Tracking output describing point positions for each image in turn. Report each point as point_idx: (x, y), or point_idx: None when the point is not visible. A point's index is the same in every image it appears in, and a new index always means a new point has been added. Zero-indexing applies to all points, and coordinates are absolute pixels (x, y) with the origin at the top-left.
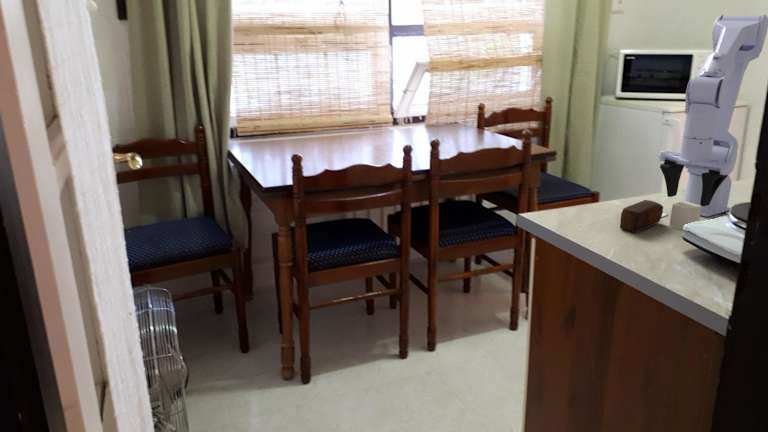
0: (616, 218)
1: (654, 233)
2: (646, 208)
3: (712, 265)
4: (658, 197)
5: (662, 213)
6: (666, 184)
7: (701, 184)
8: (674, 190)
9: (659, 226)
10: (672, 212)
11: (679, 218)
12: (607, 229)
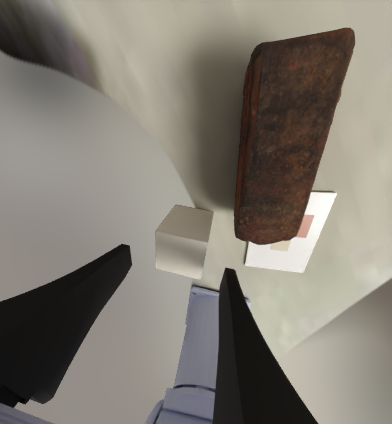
0: (345, 168)
1: (211, 135)
2: (253, 140)
3: (12, 29)
4: (296, 331)
5: (255, 264)
6: (245, 305)
7: (204, 358)
8: (221, 296)
9: (226, 193)
10: (207, 228)
11: (188, 218)
12: (348, 23)
